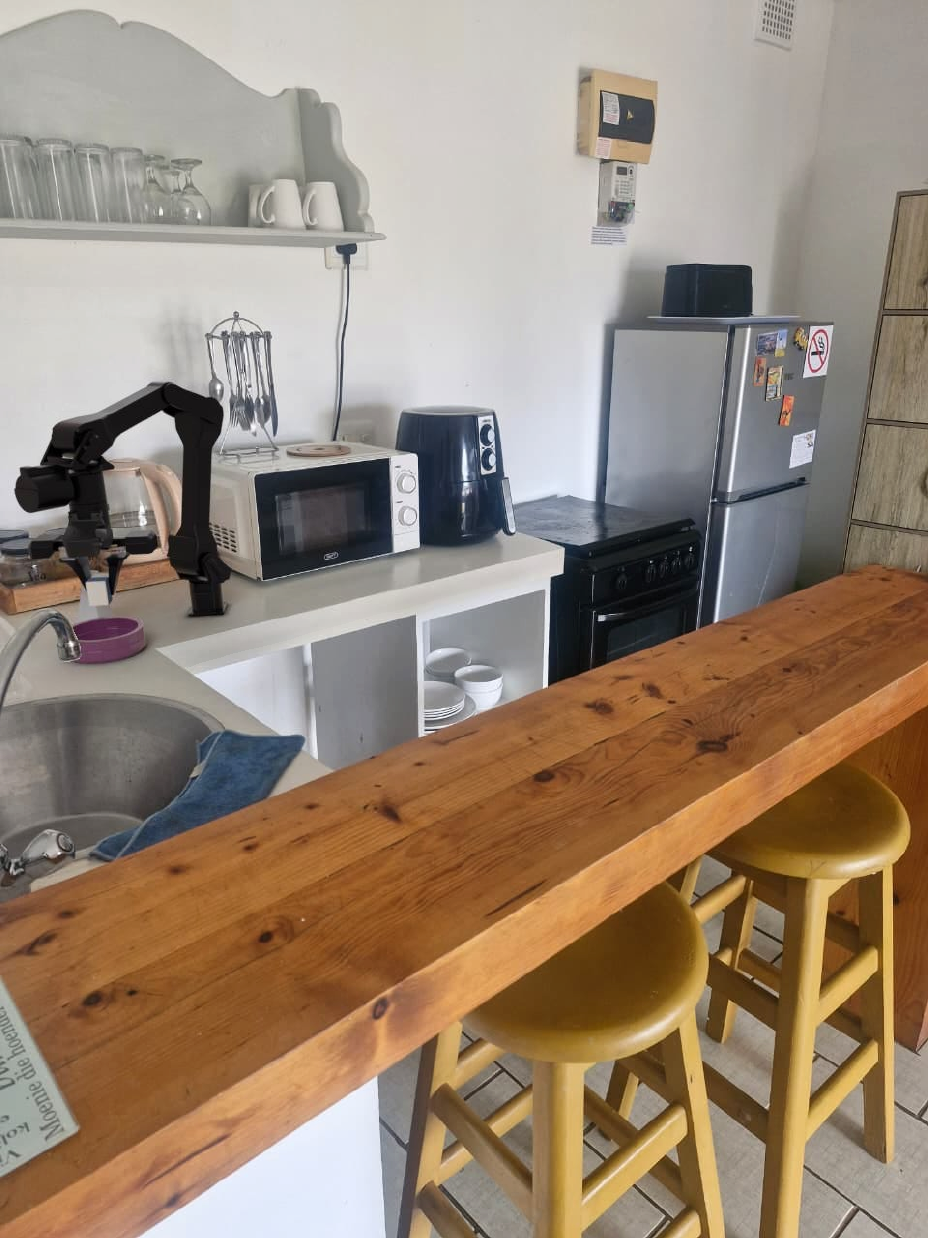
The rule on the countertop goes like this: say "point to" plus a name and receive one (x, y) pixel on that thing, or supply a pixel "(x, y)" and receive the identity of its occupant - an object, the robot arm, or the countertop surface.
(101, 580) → the eraser
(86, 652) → the bowl
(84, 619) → the flask
